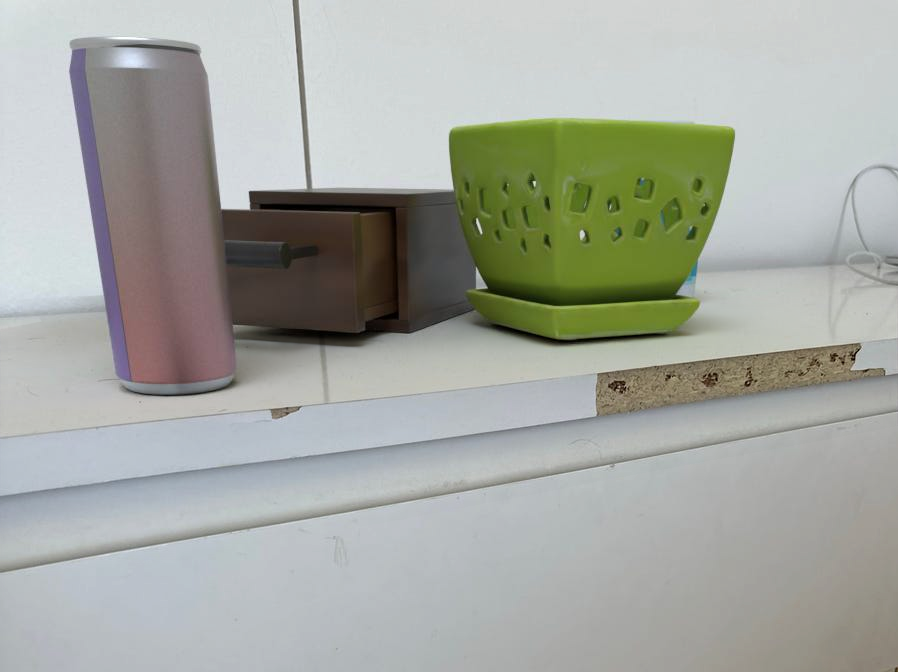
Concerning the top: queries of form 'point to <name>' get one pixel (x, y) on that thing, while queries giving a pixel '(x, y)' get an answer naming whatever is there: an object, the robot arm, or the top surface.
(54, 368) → the top surface
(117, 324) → the beverage can
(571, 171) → the flower pot
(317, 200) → the cabinet
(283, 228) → the drawer
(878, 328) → the top surface
